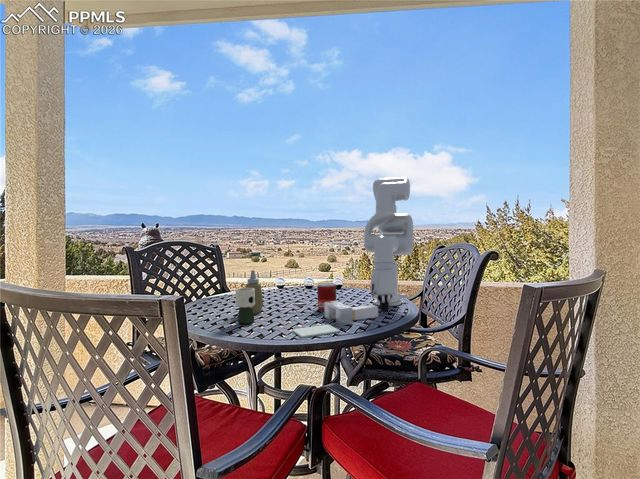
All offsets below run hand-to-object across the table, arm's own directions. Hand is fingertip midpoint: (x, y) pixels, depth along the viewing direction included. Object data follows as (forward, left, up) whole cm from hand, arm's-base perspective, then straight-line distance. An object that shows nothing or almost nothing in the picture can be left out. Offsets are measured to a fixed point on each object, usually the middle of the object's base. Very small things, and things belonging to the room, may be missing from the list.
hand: (384, 311), depth 156 cm
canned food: (+16, -20, -1) cm, 26 cm away
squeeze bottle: (+46, -29, -1) cm, 55 cm away
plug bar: (+10, 0, -1) cm, 10 cm away
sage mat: (+34, +10, -1) cm, 36 cm away
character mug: (+53, -13, -1) cm, 55 cm away
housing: (+21, 0, -1) cm, 21 cm away
